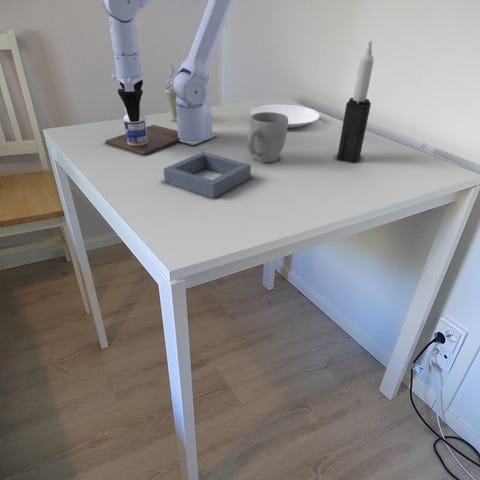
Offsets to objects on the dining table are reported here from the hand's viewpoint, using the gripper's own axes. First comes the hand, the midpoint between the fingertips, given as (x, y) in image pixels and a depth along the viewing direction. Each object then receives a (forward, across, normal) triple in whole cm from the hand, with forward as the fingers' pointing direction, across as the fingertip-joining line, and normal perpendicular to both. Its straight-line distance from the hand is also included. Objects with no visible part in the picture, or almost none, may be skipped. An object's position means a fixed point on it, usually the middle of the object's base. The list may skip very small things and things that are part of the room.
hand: (134, 116), depth 106 cm
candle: (+8, +14, +52) cm, 55 cm away
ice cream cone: (+7, -22, +10) cm, 25 cm away
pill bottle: (+6, 0, 0) cm, 7 cm away
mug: (+7, +14, +30) cm, 34 cm away
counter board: (+7, -4, +3) cm, 9 cm away
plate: (+8, -18, +44) cm, 48 cm away
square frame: (+7, +24, +16) cm, 30 cm away
